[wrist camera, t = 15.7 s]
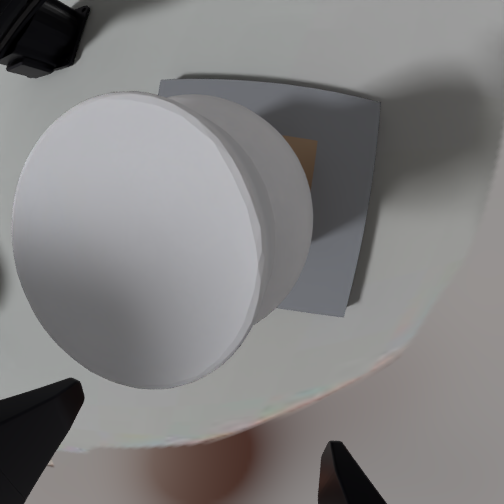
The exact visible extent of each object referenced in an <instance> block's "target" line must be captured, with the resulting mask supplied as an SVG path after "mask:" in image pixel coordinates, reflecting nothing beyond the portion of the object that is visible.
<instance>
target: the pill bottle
mask: <svg viewBox="0 0 504 504" xmlns="http://www.w3.org/2000/svg"><path fill="white" fill-rule="evenodd" d="M312 230H313V207H312V199H311V193H310V188H309V185H308V181H307V178H306V175H305V172H304V170H303V168H302V165H301V163H300V161H299V159H298V157H297V156H296V154H295V153H294V151H293V149H292V148H291V146H290V145H289V144H288V142H287V141H286V140H285V139H284V138H283V136H282V135H281V134H280V133H279V132H278V131H277V130H276V129H275V128H274V127H273V126H272V125H270V124H269V123H268V122H267V121H266V120H264V119H263V118H261V117H260V116H259V115H257V114H256V113H254V112H253V111H251V110H249V109H248V108H246V107H244V106H242V105H240V104H237V103H235V102H233V101H230V100H226V99H223V98H219V97H215V96H210V95H199V94H187V95H178V96H171V97H167V98H166V97H163V96H159V95H155V94H151V93H146V92H138V91H127V92H112V93H108V94H104V95H99V96H95V97H93V98H90V99H88V100H85V101H83V102H81V103H79V104H77V105H76V106H74V107H72V108H71V109H69V110H68V111H67V112H65V113H64V114H63V115H61V116H60V117H59V118H58V119H57V120H56V121H55V122H53V123H52V124H51V125H50V126H49V127H48V128H47V130H46V131H45V132H44V133H43V134H42V135H41V137H40V138H39V140H38V141H37V143H36V144H35V146H34V147H33V149H32V151H31V152H30V154H29V156H28V158H27V160H26V162H25V164H24V167H23V169H22V172H21V175H20V178H19V180H18V184H17V188H16V193H15V198H14V203H13V211H12V244H13V252H14V259H15V264H16V269H17V273H18V276H19V279H20V282H21V285H22V287H23V290H24V293H25V295H26V297H27V299H28V301H29V304H30V306H31V308H32V310H33V311H34V313H35V315H36V317H37V318H38V320H39V322H40V323H41V325H42V326H43V328H44V329H45V330H46V331H47V333H48V334H49V335H50V336H51V338H52V339H53V340H54V341H55V342H56V343H57V344H58V345H59V346H60V347H61V348H62V349H63V350H64V351H65V352H66V353H67V354H68V355H69V356H71V357H72V358H73V359H74V360H76V361H77V362H78V363H80V364H81V365H82V366H84V367H85V368H87V369H88V370H89V371H91V372H93V373H95V374H97V375H99V376H101V377H103V378H105V379H108V380H110V381H113V382H115V383H118V384H122V385H126V386H130V387H134V388H140V389H168V388H174V387H178V386H182V385H186V384H189V383H192V382H195V381H197V380H199V379H201V378H203V377H205V376H207V375H208V374H210V373H211V372H213V371H215V370H216V369H217V368H219V367H220V366H221V365H223V364H224V363H225V362H226V361H227V360H228V359H229V358H230V357H231V356H232V355H233V354H234V353H235V352H236V350H237V349H238V348H239V347H240V346H241V344H242V343H243V341H244V339H245V338H246V336H247V335H248V333H249V332H250V330H251V328H252V326H253V325H254V324H256V323H258V322H259V321H260V320H262V319H263V318H265V317H266V316H267V315H268V314H270V313H271V312H272V311H273V310H274V309H275V308H276V307H277V306H278V305H279V304H280V303H281V302H282V301H283V300H284V298H285V297H286V296H287V295H288V294H289V292H290V291H291V289H292V288H293V286H294V285H295V283H296V281H297V279H298V278H299V275H300V273H301V271H302V269H303V267H304V265H305V262H306V259H307V255H308V252H309V248H310V244H311V239H312Z"/></svg>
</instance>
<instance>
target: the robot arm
mask: <svg viewBox="0 0 504 504" xmlns="http://www.w3.org/2000/svg"><path fill="white" fill-rule="evenodd" d="M89 12H90V7H88V6H83V7H81V8H78V9H75V10H74V9H72V8H70V7H69V6H67V5H65V4H64V3H62V2H60V1H58V0H0V64H3V65H7V68H6V70H7V71H8V72H12V73H16V74H20V75H25V76H27V77H28V78H38V77H41V76H45V75H48V74H51V73H52V72H54V71H55V70H59V69H63V68H66V67H69V66H71V65H72V64H73V62H74V58H75V55H76V51H77V48H78V44H79V41H80V38H81V35H82V32H83V29H84V26H85V23H86V20H87V17H88V14H89ZM68 61H69V62H68ZM84 398H85V397H84V393H83V389H82V385H81V383H80V381H78V380H76V379H74V378H67V379H65V380H62V381H59V382H56V383H53V384H50V385H47V386H44V387H41V388H38V389H35V390H32V391H28V392H25V393H22V394H19V395H16V396H12V397H9V398H6V399H2V400H0V504H24V503H25V501H26V499H27V497H28V495H29V494H30V492H31V490H32V489H33V487H34V485H35V484H36V482H37V481H38V479H39V477H40V475H41V474H42V472H43V471H44V469H45V467H46V466H47V464H48V463H49V461H50V460H51V458H52V456H53V455H54V453H55V452H56V450H57V449H58V447H59V445H60V444H61V442H62V441H63V439H64V438H65V436H66V435H67V433H68V431H69V430H70V428H71V426H72V424H73V422H74V420H75V418H76V416H77V414H78V412H79V410H80V408H81V406H82V404H83V402H84ZM318 504H387V503H386V502H385V501H384V499H383V498H382V496H381V495H380V494H379V492H378V491H377V490H376V488H375V487H374V486H373V484H372V483H371V482H370V480H369V479H368V477H367V476H366V475H365V473H364V472H363V471H362V469H361V468H360V466H359V465H358V464H357V462H356V461H355V460H354V458H353V457H352V456H351V454H350V453H349V451H348V450H347V449H346V447H345V446H344V444H343V443H342V442H341V441H329V442H328V444H327V446H326V448H325V450H324V452H323V454H322V457H321V467H320V479H319V490H318Z"/></svg>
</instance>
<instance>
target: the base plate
mask: <svg viewBox="0 0 504 504" xmlns="http://www.w3.org/2000/svg"><path fill="white" fill-rule="evenodd" d="M187 94H199V95H210V96H215V97H219V98H223V99H226V100H230V101H233V102H235V103H237V104H240V105H242V106H244V107H246V108H248V109H249V110H251V111H253V112H254V113H256V114H257V115H259V116H260V117H261V118H263V119H264V120H266V121H267V122H268V123H269V124H270V125H272V126H273V127H274V128H275V129H276V130H277V131H278V132H279V133H280V134H281V135H283V136H290V137H297V138H304V139H310V140H316V141H318V142H317V150H316V157H315V165H314V172H313V179H312V186H311V199H312V207H313V230H312V239H311V244H310V248H309V252H308V255H307V259H306V262H305V265H304V267H303V269H302V271H301V273H300V275H299V278H298V279H297V281H296V283H295V285H294V286H293V288H292V289H291V291H290V292H289V294H288V295H287V296H286V297H285V298H284V300H283V301H282V302H281V303H280V304H279V305H278V306H277V307H276V308H280V309H287V310H293V311H300V312H307V313H314V314H321V315H329V316H336V317H344V314H345V310H346V307H347V303H348V299H349V295H350V291H351V287H352V283H353V279H354V275H355V270H356V266H357V261H358V257H359V252H360V247H361V242H362V238H363V232H364V227H365V222H366V216H367V211H368V205H369V199H370V193H371V186H372V179H373V172H374V165H375V157H376V148H377V139H378V129H379V118H380V105H381V102H377V101H373V100H369V99H365V98H361V97H356V96H352V95H347V94H342V93H337V92H332V91H326V90H321V89H315V88H309V87H302V86H295V85H287V84H279V83H269V82H258V81H245V80H226V79H169V80H161V82H160V87H159V93H158V95H159V96H163V97H166V98H167V97H171V96H178V95H187Z"/></svg>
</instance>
